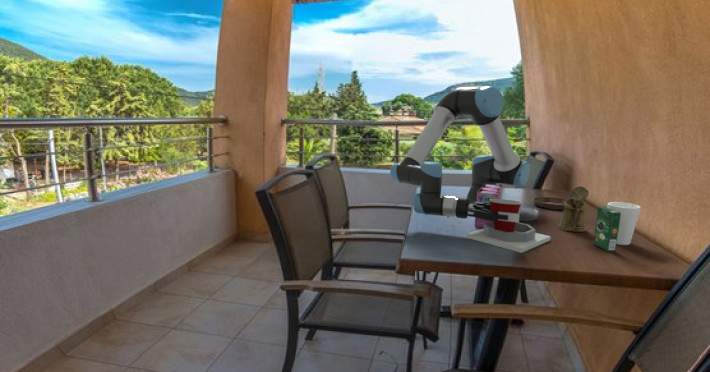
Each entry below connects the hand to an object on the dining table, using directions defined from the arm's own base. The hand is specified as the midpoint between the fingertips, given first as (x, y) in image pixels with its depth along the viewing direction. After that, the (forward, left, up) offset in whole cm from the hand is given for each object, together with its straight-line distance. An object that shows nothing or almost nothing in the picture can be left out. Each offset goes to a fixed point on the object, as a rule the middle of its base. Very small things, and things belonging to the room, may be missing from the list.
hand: (520, 213), depth 141 cm
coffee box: (-15, +22, -10) cm, 28 cm away
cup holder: (+1, -3, -10) cm, 10 cm away
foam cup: (-26, +23, -10) cm, 36 cm away
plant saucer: (-64, -16, -10) cm, 66 cm away
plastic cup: (+5, -2, -7) cm, 9 cm away
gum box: (-16, -21, -10) cm, 28 cm away
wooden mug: (-28, +7, -10) cm, 30 cm away
